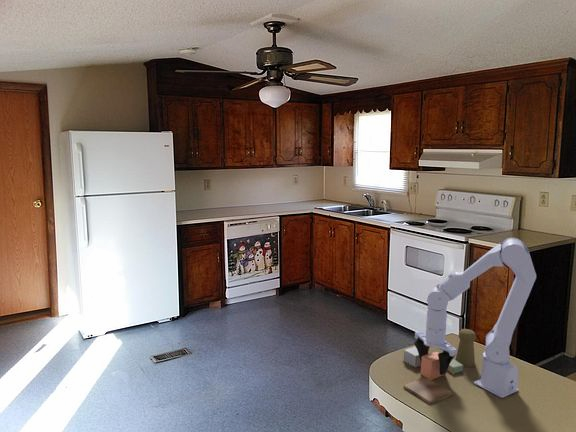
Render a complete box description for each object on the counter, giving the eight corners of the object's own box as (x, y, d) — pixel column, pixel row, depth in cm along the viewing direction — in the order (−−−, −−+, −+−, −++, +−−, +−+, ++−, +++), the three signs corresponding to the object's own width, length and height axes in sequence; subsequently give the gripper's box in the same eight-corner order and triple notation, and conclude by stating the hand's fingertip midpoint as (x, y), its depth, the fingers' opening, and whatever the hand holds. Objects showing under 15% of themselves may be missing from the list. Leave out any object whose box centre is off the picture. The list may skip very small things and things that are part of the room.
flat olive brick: (462, 372, 148) (463, 365, 148) (452, 374, 146) (453, 367, 146) (448, 363, 154) (448, 356, 153) (438, 365, 152) (438, 358, 152)
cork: (471, 368, 150) (474, 336, 148) (452, 363, 153) (454, 331, 151) (477, 361, 154) (480, 329, 152) (458, 356, 158) (460, 325, 156)
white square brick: (426, 363, 153) (426, 352, 152) (415, 367, 150) (415, 356, 150) (414, 357, 157) (415, 346, 156) (403, 361, 154) (404, 349, 154)
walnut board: (452, 395, 134) (452, 392, 134) (429, 404, 130) (430, 401, 130) (425, 379, 143) (425, 377, 143) (403, 387, 138) (403, 385, 138)
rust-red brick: (445, 374, 146) (446, 356, 145) (430, 380, 143) (431, 361, 142) (435, 369, 149) (436, 351, 148) (420, 374, 146) (421, 356, 145)
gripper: (408, 321, 147) (406, 361, 150) (446, 338, 135) (443, 382, 138) (424, 316, 151) (422, 356, 153) (462, 333, 139) (459, 376, 141)
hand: (433, 368), depth 146 cm, fingers open, 7 cm apart
